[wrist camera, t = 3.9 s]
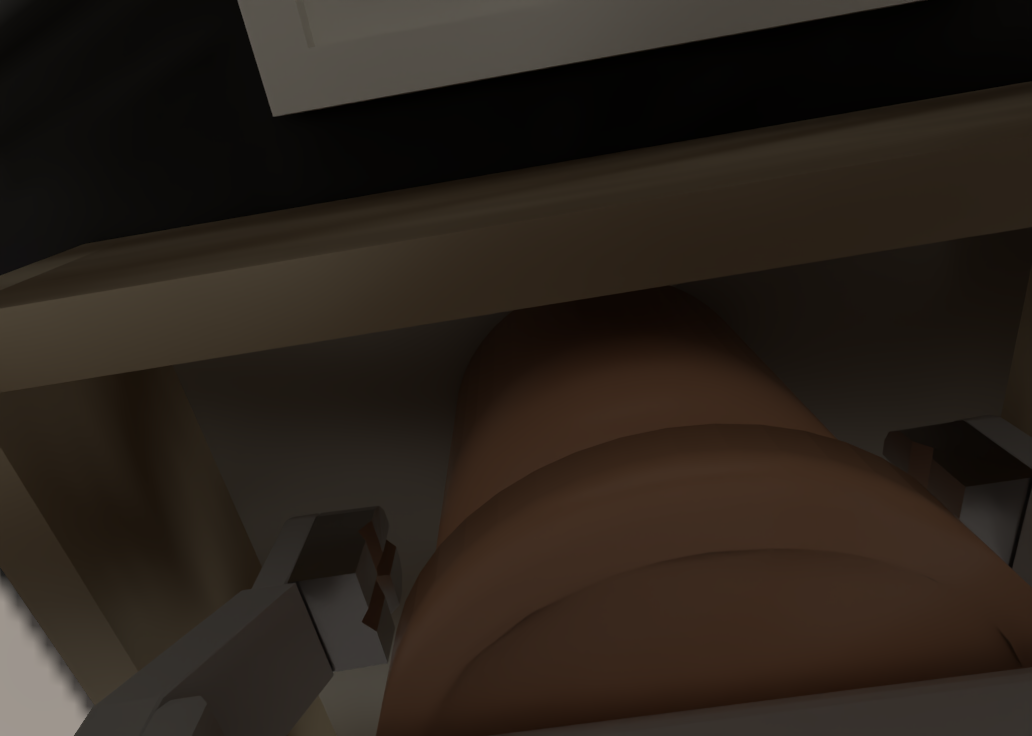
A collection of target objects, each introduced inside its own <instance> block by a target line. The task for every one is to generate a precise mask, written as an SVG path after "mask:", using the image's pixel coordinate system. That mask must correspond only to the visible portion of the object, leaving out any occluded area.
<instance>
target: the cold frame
mask: <svg viewBox="0 0 1032 736" xmlns="http://www.w3.org/2000/svg"><path fill="white" fill-rule="evenodd" d="M668 285H670V286H673V287H675V288H677V289H679V290H682V291H684V292H686V293H688V294H690V295H692V296H694V297H695V298H697V299H698V300H700V301H701V302H703V303H704V304H706V305H708V306H709V307H710V308H711V309H712V310H713V311H714V312H716V313H717V314H718V315H719V316H720V317H721V318H722V319H723V320H724V321H725V322H726V323H727V324H728V325H729V326H730V327H731V328H732V329H733V330H734V331H735V332H736V333H737V334H738V336H739V337H740V338H741V339H742V340H743V341H744V342H745V343H746V344H747V345H748V346H749V347H750V348H751V349H752V350H753V351H754V352H755V353H756V354H757V355H758V357H759V358H760V359H761V360H762V361H763V362H764V363H765V364H766V365H767V366H768V367H769V368H770V369H771V370H772V371H773V372H774V373H775V374H776V375H777V376H778V378H779V379H780V380H781V381H782V382H783V383H784V384H785V385H786V386H787V387H788V388H789V389H790V390H791V391H792V392H793V393H794V394H795V395H796V396H797V397H798V399H799V400H800V401H801V402H802V403H803V404H804V405H805V406H806V407H807V408H808V409H809V410H810V411H811V412H812V413H813V414H814V415H815V416H816V417H817V418H818V419H819V421H820V422H821V423H822V424H823V425H824V426H825V427H826V428H827V429H828V430H829V431H830V432H831V433H832V434H833V435H834V436H835V437H836V438H837V439H838V440H840V441H844V442H847V443H849V444H851V445H854V446H856V447H858V448H861V449H863V450H865V451H868V452H870V453H872V454H875V455H877V456H879V457H882V458H883V459H885V460H887V459H886V458H885V457H884V455H883V446H884V440H885V438H886V436H887V434H888V433H889V432H890V431H896V430H902V429H909V428H915V427H922V426H928V425H934V424H941V423H947V422H953V421H955V420H960V419H966V418H971V417H977V416H982V415H988V414H990V415H994V416H998V417H1001V418H1003V419H1004V420H1006V421H1007V422H1009V423H1010V424H1012V425H1014V426H1015V427H1017V428H1018V429H1020V430H1021V431H1023V432H1024V433H1026V434H1027V435H1029V436H1030V437H1032V81H1030V82H1024V83H1018V84H1012V85H1007V86H1001V87H995V88H989V89H983V90H978V91H972V92H966V93H960V94H954V95H948V96H943V97H937V98H931V99H925V100H919V101H913V102H908V103H902V104H896V105H890V106H884V107H879V108H873V109H867V110H861V111H855V112H849V113H844V114H838V115H832V116H826V117H820V118H815V119H809V120H803V121H797V122H791V123H785V124H780V125H774V126H768V127H762V128H756V129H750V130H745V131H739V132H733V133H727V134H721V135H716V136H710V137H704V138H698V139H692V140H686V141H681V142H675V143H669V144H663V145H657V146H652V147H646V148H640V149H634V150H628V151H622V152H617V153H611V154H605V155H599V156H593V157H588V158H582V159H576V160H570V161H564V162H558V163H553V164H547V165H541V166H535V167H529V168H523V169H518V170H512V171H506V172H500V173H494V174H489V175H483V176H477V177H471V178H465V179H459V180H454V181H448V182H442V183H436V184H430V185H425V186H419V187H413V188H407V189H401V190H395V191H390V192H384V193H378V194H372V195H366V196H360V197H355V198H349V199H343V200H337V201H331V202H326V203H320V204H314V205H308V206H302V207H296V208H291V209H285V210H279V211H273V212H267V213H262V214H256V215H250V216H244V217H238V218H232V219H227V220H221V221H215V222H209V223H203V224H198V225H192V226H186V227H180V228H174V229H168V230H163V231H157V232H151V233H145V234H139V235H133V236H128V237H122V238H116V239H110V240H104V241H99V242H93V243H87V244H83V245H80V246H78V247H75V248H72V249H70V250H67V251H64V252H62V253H59V254H56V255H54V256H51V257H48V258H46V259H43V260H41V261H38V262H35V263H33V264H30V265H27V266H25V267H22V268H19V269H17V270H14V271H11V272H9V273H6V274H3V275H1V276H0V567H1V569H2V570H3V572H4V573H5V575H6V576H7V578H8V579H9V581H10V582H11V584H12V585H13V586H14V588H15V589H16V591H17V592H18V594H19V595H20V597H21V598H22V600H23V601H24V603H25V604H26V606H27V607H28V608H29V610H30V611H31V613H32V614H33V616H34V617H35V619H36V620H37V622H38V623H39V625H40V626H41V628H42V629H43V630H44V632H45V633H46V635H47V636H48V638H49V639H50V641H51V642H52V644H53V645H54V647H55V648H56V650H57V651H58V652H59V654H60V655H61V657H62V658H63V660H64V661H65V663H66V664H67V666H68V667H69V669H70V670H71V671H72V673H73V674H74V676H75V677H76V679H77V680H78V682H79V683H80V685H81V686H82V688H83V689H84V691H85V692H86V693H87V695H88V696H89V698H90V699H91V701H92V702H93V704H94V705H96V704H98V703H99V702H100V701H101V700H103V699H104V698H105V697H107V696H108V695H109V694H110V693H112V692H113V691H114V690H115V689H117V688H118V687H119V686H121V685H122V684H123V683H124V682H126V681H127V680H128V679H129V678H131V677H132V676H133V675H135V674H136V673H137V672H138V671H140V670H141V669H142V668H144V667H145V666H146V665H147V664H149V663H150V662H151V661H152V660H154V659H155V658H156V657H158V656H159V655H160V654H161V653H163V652H164V651H165V650H166V649H168V648H169V647H170V646H172V645H173V644H174V643H175V642H177V641H178V640H179V639H181V638H182V637H183V636H184V635H186V634H187V633H188V632H189V631H191V630H192V629H193V628H195V627H196V626H197V625H198V624H200V623H201V622H202V621H203V620H205V619H206V618H207V617H209V616H210V615H211V614H212V613H214V612H215V611H216V610H217V609H219V608H220V607H221V606H223V605H224V604H225V603H226V602H228V601H229V600H230V599H232V598H233V597H234V596H235V595H237V594H238V593H239V592H240V591H242V590H248V589H252V587H253V585H254V583H255V581H256V579H257V577H258V575H259V573H260V571H261V569H262V567H263V565H264V563H265V561H266V559H267V557H268V555H269V553H270V551H271V549H272V547H273V545H274V543H275V541H276V539H277V537H278V535H279V533H280V531H281V529H282V527H283V525H284V523H285V522H286V521H287V520H288V519H290V518H292V517H296V516H303V515H310V514H317V513H318V514H321V513H324V512H332V511H340V510H348V509H356V508H364V507H372V506H380V507H381V508H383V509H384V511H385V514H386V517H387V520H388V522H389V525H390V526H389V530H388V534H387V538H386V539H387V540H388V541H389V542H391V543H392V544H393V545H395V546H396V547H397V551H398V554H399V557H400V562H401V568H402V595H401V600H400V605H399V606H398V607H397V608H396V609H395V610H394V611H393V613H392V614H391V616H392V619H393V622H394V625H395V631H394V636H393V641H392V646H391V650H390V655H389V660H388V663H387V664H380V665H374V666H368V667H362V668H356V669H350V670H344V671H338V672H333V674H334V676H333V677H332V678H331V680H330V681H329V682H328V684H327V685H326V686H325V687H324V689H323V690H322V691H321V692H320V694H319V695H318V696H317V698H316V699H315V700H314V701H313V703H312V704H311V705H310V707H309V708H308V709H307V710H306V712H305V713H304V714H303V715H302V717H301V718H300V719H299V721H298V722H297V723H296V724H295V726H294V727H293V728H292V730H291V731H290V732H289V733H288V735H287V736H376V732H377V727H378V722H379V717H380V712H381V707H382V702H383V696H384V691H385V686H386V681H387V676H388V671H389V666H390V661H391V655H392V650H393V645H394V640H395V635H396V630H397V627H398V623H399V620H400V617H401V614H402V610H403V607H404V604H405V601H406V599H407V597H408V595H409V593H410V591H411V589H412V587H413V585H414V583H415V581H416V579H417V577H418V575H419V573H420V572H421V570H422V569H423V568H424V566H425V565H426V563H427V562H428V561H429V559H430V558H431V557H432V555H433V554H434V552H435V551H436V546H437V539H438V532H439V525H440V518H441V511H442V504H443V497H444V490H445V483H446V476H447V469H448V462H449V455H450V448H451V441H452V434H453V427H454V420H455V413H456V406H457V399H458V392H459V389H460V385H461V382H462V379H463V375H464V373H465V371H466V368H467V366H468V364H469V362H470V360H471V358H472V356H473V355H474V353H475V351H476V350H477V348H478V347H479V345H480V344H481V342H482V341H483V340H484V338H485V337H486V336H487V335H488V334H489V333H490V332H491V330H492V329H493V328H494V327H495V326H496V325H497V324H498V323H499V322H500V321H501V320H503V319H504V318H505V317H506V316H507V315H508V314H509V313H510V312H512V311H513V310H518V309H524V308H531V307H537V306H543V305H549V304H555V303H562V302H568V301H574V300H580V299H587V298H593V297H599V296H605V295H612V294H618V293H624V292H630V291H636V290H643V289H649V288H655V287H661V286H668ZM887 461H888V460H887ZM888 462H889V461H888Z"/></svg>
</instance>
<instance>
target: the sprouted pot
mask: <svg viewBox="0 0 1032 736" xmlns="http://www.w3.org/2000/svg"><path fill="white" fill-rule="evenodd" d="M1028 667H1032V587H1031V586H1030V585H1029V584H1028V583H1026V582H1025V581H1024V580H1023V579H1022V578H1021V577H1020V576H1019V575H1018V574H1017V573H1016V572H1015V571H1014V570H1013V569H1012V568H1011V567H1010V566H1008V565H1007V564H1006V563H1005V562H1004V561H1003V560H1002V559H1001V558H1000V557H999V556H998V555H997V554H996V553H995V552H994V551H993V550H991V549H990V548H989V547H988V546H987V545H986V544H985V543H984V542H983V541H982V540H981V539H980V538H979V537H978V536H977V535H976V534H975V533H973V532H972V531H971V530H970V529H969V528H968V527H967V526H966V525H965V524H964V523H963V522H962V521H961V520H960V519H959V518H958V517H957V516H955V515H954V514H953V513H952V512H951V511H950V510H949V509H948V508H947V507H946V506H945V505H944V504H943V503H942V502H941V501H940V500H939V499H937V498H936V497H935V496H934V495H933V494H932V493H931V492H929V491H928V490H927V489H926V488H925V487H924V486H923V485H922V484H920V483H919V482H918V481H917V480H916V479H915V478H914V477H912V476H911V475H909V474H907V473H906V472H904V471H903V470H901V469H899V468H898V467H896V466H895V465H893V464H891V463H890V462H888V461H887V460H885V459H883V458H882V457H879V456H877V455H875V454H872V453H870V452H868V451H865V450H863V449H861V448H858V447H856V446H854V445H851V444H849V443H847V442H844V441H840V440H838V439H837V438H836V437H835V436H834V435H833V434H832V433H831V432H830V431H829V430H828V429H827V428H826V427H825V426H824V425H823V424H822V423H821V422H820V421H819V419H818V418H817V417H816V416H815V415H814V414H813V413H812V412H811V411H810V410H809V409H808V408H807V407H806V406H805V405H804V404H803V403H802V402H801V401H800V400H799V399H798V397H797V396H796V395H795V394H794V393H793V392H792V391H791V390H790V389H789V388H788V387H787V386H786V385H785V384H784V383H783V382H782V381H781V380H780V379H779V378H778V376H777V375H776V374H775V373H774V372H773V371H772V370H771V369H770V368H769V367H768V366H767V365H766V364H765V363H764V362H763V361H762V360H761V359H760V358H759V357H758V355H757V354H756V353H755V352H754V351H753V350H752V349H751V348H750V347H749V346H748V345H747V344H746V343H745V342H744V341H743V340H742V339H741V338H740V337H739V336H738V334H737V333H736V332H735V331H734V330H733V329H732V328H731V327H730V326H729V325H728V324H727V323H726V322H725V321H724V320H723V319H722V318H721V317H720V316H719V315H718V314H717V313H716V312H714V311H713V310H712V309H711V308H710V307H709V306H708V305H706V304H704V303H703V302H701V301H700V300H698V299H697V298H695V297H694V296H692V295H690V294H688V293H686V292H684V291H682V290H679V289H677V288H675V287H673V286H670V285H668V286H661V287H655V288H649V289H643V290H636V291H630V292H624V293H618V294H612V295H605V296H599V297H593V298H587V299H580V300H574V301H568V302H562V303H555V304H549V305H543V306H537V307H531V308H524V309H518V310H513V311H512V312H510V313H509V314H508V315H507V316H506V317H505V318H504V319H503V320H501V321H500V322H499V323H498V324H497V325H496V326H495V327H494V328H493V329H492V330H491V332H490V333H489V334H488V335H487V336H486V337H485V338H484V340H483V341H482V342H481V344H480V345H479V347H478V348H477V350H476V351H475V353H474V355H473V356H472V358H471V360H470V362H469V364H468V366H467V368H466V371H465V373H464V375H463V379H462V382H461V385H460V389H459V392H458V399H457V406H456V413H455V420H454V427H453V434H452V441H451V448H450V455H449V462H448V469H447V476H446V483H445V490H444V497H443V504H442V511H441V518H440V525H439V532H438V539H437V546H436V551H435V552H434V554H433V555H432V557H431V558H430V559H429V561H428V562H427V563H426V565H425V566H424V568H423V569H422V570H421V572H420V573H419V575H418V577H417V579H416V581H415V583H414V585H413V587H412V589H411V591H410V593H409V595H408V597H407V599H406V601H405V604H404V607H403V610H402V614H401V617H400V620H399V623H398V627H397V630H396V635H395V640H394V645H393V650H392V655H391V661H390V666H389V671H388V676H387V681H386V686H385V691H384V696H383V702H382V707H381V712H380V717H379V722H378V727H377V732H376V736H489V735H497V734H505V733H513V732H520V731H528V730H536V729H544V728H552V727H560V726H568V725H576V724H584V723H592V722H599V721H607V720H615V719H623V718H631V717H639V716H647V715H655V714H662V713H670V712H678V711H686V710H694V709H702V708H710V707H717V706H725V705H733V704H741V703H749V702H757V701H765V700H773V699H780V698H788V697H796V696H804V695H812V694H820V693H828V692H836V691H844V690H852V689H860V688H868V687H876V686H884V685H892V684H900V683H908V682H916V681H924V680H932V679H940V678H948V677H956V676H964V675H972V674H980V673H988V672H996V671H1004V670H1012V669H1020V668H1028Z"/></svg>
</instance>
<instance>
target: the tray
mask: <svg viewBox="0 0 1032 736" xmlns="http://www.w3.org/2000/svg"><path fill="white" fill-rule="evenodd" d="M921 1H927V0H238V4H239V7H240V10H241V13H242V17H243V20H244V23H245V26H246V30H247V33H248V36H249V39H250V43H251V46H252V49H253V52H254V56H255V59H256V62H257V66H258V69H259V72H260V75H261V79H262V82H263V85H264V88H265V92H266V95H267V98H268V101H269V105H270V108H271V111H272V114H273V117H274V116H282V115H290V114H298V113H303V112H309V111H314V110H320V109H325V108H331V107H337V106H342V105H348V104H353V103H359V102H364V101H370V100H376V99H381V98H387V97H392V96H398V95H403V94H409V93H414V92H420V91H426V90H431V89H437V88H442V87H448V86H453V85H459V84H465V83H470V82H476V81H481V80H487V79H492V78H498V77H504V76H509V75H515V74H520V73H526V72H531V71H537V70H543V69H548V68H554V67H559V66H565V65H570V64H576V63H582V62H587V61H593V60H598V59H604V58H609V57H615V56H621V55H626V54H632V53H637V52H643V51H648V50H654V49H660V48H665V47H671V46H676V45H682V44H687V43H693V42H699V41H704V40H710V39H715V38H721V37H726V36H732V35H738V34H743V33H749V32H754V31H760V30H765V29H771V28H777V27H782V26H788V25H793V24H799V23H804V22H810V21H816V20H821V19H827V18H832V17H838V16H843V15H849V14H855V13H860V12H866V11H871V10H877V9H882V8H888V7H894V6H899V5H905V4H910V3H916V2H921Z"/></svg>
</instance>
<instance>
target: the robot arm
mask: <svg viewBox="0 0 1032 736" xmlns="http://www.w3.org/2000/svg"><path fill="white" fill-rule="evenodd" d="M883 455H884V457H885V458H886V459H887V460H888V461H889V462H890V463H891V464H893V465H895V466H896V467H898V468H899V469H901V470H903V471H904V472H906V473H907V474H909V475H911V476H912V477H914V478H915V479H916V480H917V481H918V482H919V483H920V484H922V485H923V486H924V487H925V488H926V489H927V490H928V491H929V492H931V493H932V494H933V495H934V496H935V497H936V498H937V499H939V500H940V501H941V502H942V503H943V504H944V505H945V506H946V507H947V508H948V509H949V510H950V511H951V512H952V513H953V514H954V515H955V516H957V517H958V518H959V519H960V520H961V521H962V522H963V523H964V524H965V525H966V526H967V527H968V528H969V529H970V530H971V531H972V532H973V533H975V534H976V535H977V536H978V537H979V538H980V539H981V540H982V541H983V542H984V543H985V544H986V545H987V546H988V547H989V548H990V549H991V550H993V551H994V552H995V553H996V554H997V555H998V556H999V557H1000V558H1001V559H1002V560H1003V561H1004V562H1005V563H1006V564H1007V565H1008V566H1010V567H1011V568H1012V569H1013V570H1014V571H1015V572H1016V573H1017V574H1018V575H1019V576H1020V577H1021V578H1022V579H1023V580H1024V581H1025V582H1026V583H1028V584H1029V585H1030V586H1031V587H1032V437H1030V436H1029V435H1027V434H1026V433H1024V432H1023V431H1021V430H1020V429H1018V428H1017V427H1015V426H1014V425H1012V424H1010V423H1009V422H1007V421H1006V420H1004V419H1003V418H1001V417H998V416H994V415H990V414H988V415H982V416H977V417H971V418H966V419H960V420H955V421H953V422H947V423H941V424H934V425H928V426H922V427H915V428H909V429H902V430H896V431H890V432H889V433H888V434H887V436H886V438H885V440H884V446H883ZM389 526H390V525H389V522H388V520H387V517H386V514H385V511H384V509H383V508H381V507H380V506H372V507H364V508H356V509H348V510H340V511H332V512H324V513H321V514H318V513H317V514H310V515H303V516H296V517H292V518H290V519H288V520H287V521H286V522H285V523H284V525H283V527H282V529H281V531H280V533H279V535H278V537H277V539H276V541H275V543H274V545H273V547H272V549H271V551H270V553H269V555H268V557H267V559H266V561H265V563H264V565H263V567H262V569H261V571H260V573H259V575H258V577H257V579H256V581H255V583H254V585H253V587H252V589H248V590H242V591H240V592H239V593H238V594H237V595H235V596H234V597H233V598H232V599H230V600H229V601H228V602H226V603H225V604H224V605H223V606H221V607H220V608H219V609H217V610H216V611H215V612H214V613H212V614H211V615H210V616H209V617H207V618H206V619H205V620H203V621H202V622H201V623H200V624H198V625H197V626H196V627H195V628H193V629H192V630H191V631H189V632H188V633H187V634H186V635H184V636H183V637H182V638H181V639H179V640H178V641H177V642H175V643H174V644H173V645H172V646H170V647H169V648H168V649H166V650H165V651H164V652H163V653H161V654H160V655H159V656H158V657H156V658H155V659H154V660H152V661H151V662H150V663H149V664H147V665H146V666H145V667H144V668H142V669H141V670H140V671H138V672H137V673H136V674H135V675H133V676H132V677H131V678H129V679H128V680H127V681H126V682H124V683H123V684H122V685H121V686H119V687H118V688H117V689H115V690H114V691H113V692H112V693H110V694H109V695H108V696H107V697H105V698H104V699H103V700H101V701H100V702H99V703H98V704H96V705H95V706H94V707H93V708H92V709H91V711H90V712H89V714H88V715H87V717H86V718H85V720H84V721H83V723H82V724H81V726H80V728H79V729H78V730H77V732H76V733H75V735H74V736H287V735H288V733H289V732H290V731H291V730H292V728H293V727H294V726H295V724H296V723H297V722H298V721H299V719H300V718H301V717H302V715H303V714H304V713H305V712H306V710H307V709H308V708H309V707H310V705H311V704H312V703H313V701H314V700H315V699H316V698H317V696H318V695H319V694H320V692H321V691H322V690H323V689H324V687H325V686H326V685H327V684H328V682H329V681H330V680H331V678H332V677H333V676H334V674H333V672H338V671H344V670H350V669H356V668H362V667H368V666H374V665H380V664H387V663H388V660H389V655H390V650H391V646H392V641H393V636H394V631H395V625H394V622H393V619H392V616H391V614H392V613H393V611H394V610H395V609H396V608H397V607H398V606H399V605H400V600H401V595H402V568H401V562H400V557H399V554H398V551H397V547H396V546H395V545H393V544H392V543H391V542H389V541H388V540H387V539H386V538H387V534H388V530H389ZM489 736H1032V667H1028V668H1020V669H1012V670H1004V671H996V672H988V673H980V674H972V675H964V676H956V677H948V678H940V679H932V680H924V681H916V682H908V683H900V684H892V685H884V686H876V687H868V688H860V689H852V690H844V691H836V692H828V693H820V694H812V695H804V696H796V697H788V698H780V699H773V700H765V701H757V702H749V703H741V704H733V705H725V706H717V707H710V708H702V709H694V710H686V711H678V712H670V713H662V714H655V715H647V716H639V717H631V718H623V719H615V720H607V721H599V722H592V723H584V724H576V725H568V726H560V727H552V728H544V729H536V730H528V731H520V732H513V733H505V734H497V735H489Z"/></svg>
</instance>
